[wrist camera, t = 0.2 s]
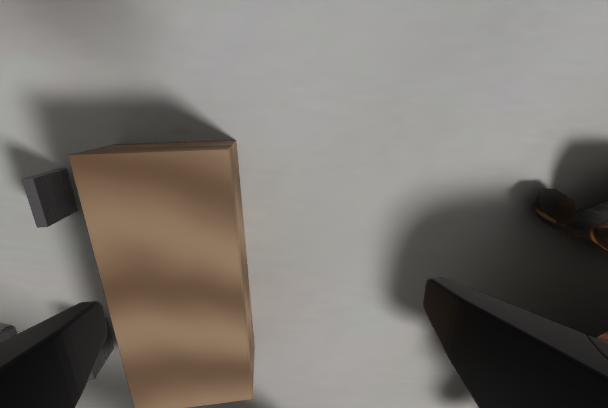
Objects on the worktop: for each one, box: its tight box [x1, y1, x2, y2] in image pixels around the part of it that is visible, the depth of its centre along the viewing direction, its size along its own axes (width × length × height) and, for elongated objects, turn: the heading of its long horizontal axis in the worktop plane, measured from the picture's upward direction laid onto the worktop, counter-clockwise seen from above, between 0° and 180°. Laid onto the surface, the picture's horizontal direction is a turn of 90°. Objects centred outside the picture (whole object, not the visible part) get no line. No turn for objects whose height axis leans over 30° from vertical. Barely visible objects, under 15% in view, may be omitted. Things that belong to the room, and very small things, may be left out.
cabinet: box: [0, 141, 255, 408], centre depth 20 cm, size 18×19×5 cm
